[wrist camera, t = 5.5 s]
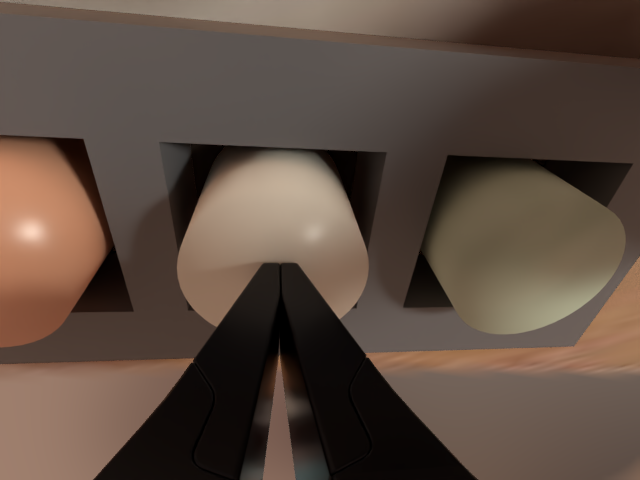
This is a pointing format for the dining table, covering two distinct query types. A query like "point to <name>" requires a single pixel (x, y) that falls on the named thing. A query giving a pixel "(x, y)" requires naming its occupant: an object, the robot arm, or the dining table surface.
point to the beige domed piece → (271, 228)
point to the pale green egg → (517, 243)
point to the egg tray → (307, 133)
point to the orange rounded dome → (46, 233)
